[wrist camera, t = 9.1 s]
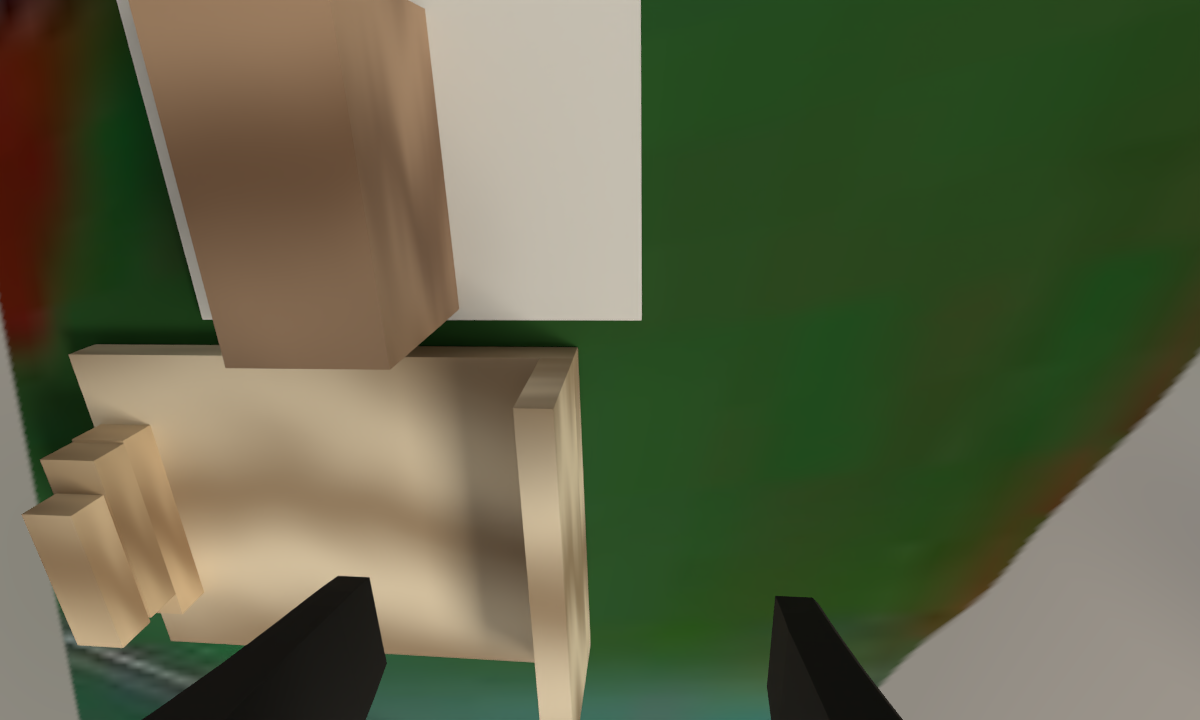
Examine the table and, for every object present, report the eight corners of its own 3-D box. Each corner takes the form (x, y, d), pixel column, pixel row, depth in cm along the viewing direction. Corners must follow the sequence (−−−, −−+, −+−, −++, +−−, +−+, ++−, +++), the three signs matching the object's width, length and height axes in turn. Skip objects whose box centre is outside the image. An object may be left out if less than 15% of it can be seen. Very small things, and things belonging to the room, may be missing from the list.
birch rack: (590, 643, 23) (574, 757, 19) (189, 621, 25) (92, 721, 21) (577, 347, 19) (553, 409, 15) (95, 344, 20) (-51, 399, 16)
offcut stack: (204, 592, 23) (132, 664, 20) (160, 590, 23) (82, 661, 20) (150, 425, 20) (58, 477, 17) (101, 423, 20) (1, 476, 17)
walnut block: (459, 309, 18) (390, 369, 14) (334, 309, 19) (225, 368, 14) (424, 8, 16) (322, -44, 11) (278, 16, 16) (119, -31, 11)
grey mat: (641, 316, 18) (641, 320, 18) (211, 315, 20) (202, 319, 19) (640, -77, 15) (639, -83, 14) (116, -44, 16) (103, -48, 16)
